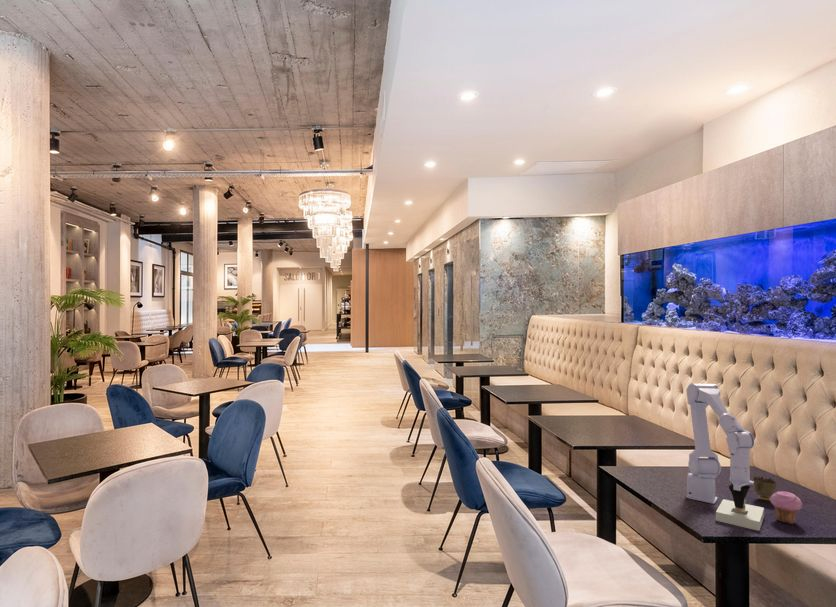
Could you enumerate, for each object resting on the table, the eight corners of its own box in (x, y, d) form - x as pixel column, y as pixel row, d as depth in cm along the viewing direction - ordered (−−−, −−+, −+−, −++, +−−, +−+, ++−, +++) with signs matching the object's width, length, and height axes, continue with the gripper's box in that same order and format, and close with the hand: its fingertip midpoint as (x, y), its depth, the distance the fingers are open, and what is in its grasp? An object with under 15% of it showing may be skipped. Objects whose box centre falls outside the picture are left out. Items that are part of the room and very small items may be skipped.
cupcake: (767, 520, 175) (768, 491, 175) (773, 514, 181) (773, 485, 181) (799, 528, 168) (799, 498, 168) (804, 521, 174) (804, 492, 175)
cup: (780, 504, 190) (780, 483, 190) (758, 502, 192) (758, 481, 192) (770, 497, 198) (770, 476, 198) (749, 495, 199) (749, 475, 199)
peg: (734, 515, 174) (734, 491, 174) (735, 512, 176) (735, 489, 177) (744, 517, 172) (744, 493, 172) (745, 514, 175) (745, 491, 175)
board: (715, 520, 174) (715, 511, 174) (723, 507, 186) (723, 499, 186) (759, 530, 166) (759, 521, 166) (764, 516, 178) (764, 507, 178)
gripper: (751, 473, 167) (751, 515, 166) (756, 464, 178) (755, 503, 178) (726, 469, 171) (726, 510, 171) (732, 460, 182) (732, 498, 182)
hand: (739, 506), depth 174 cm, fingers closed on peg, 3 cm apart
